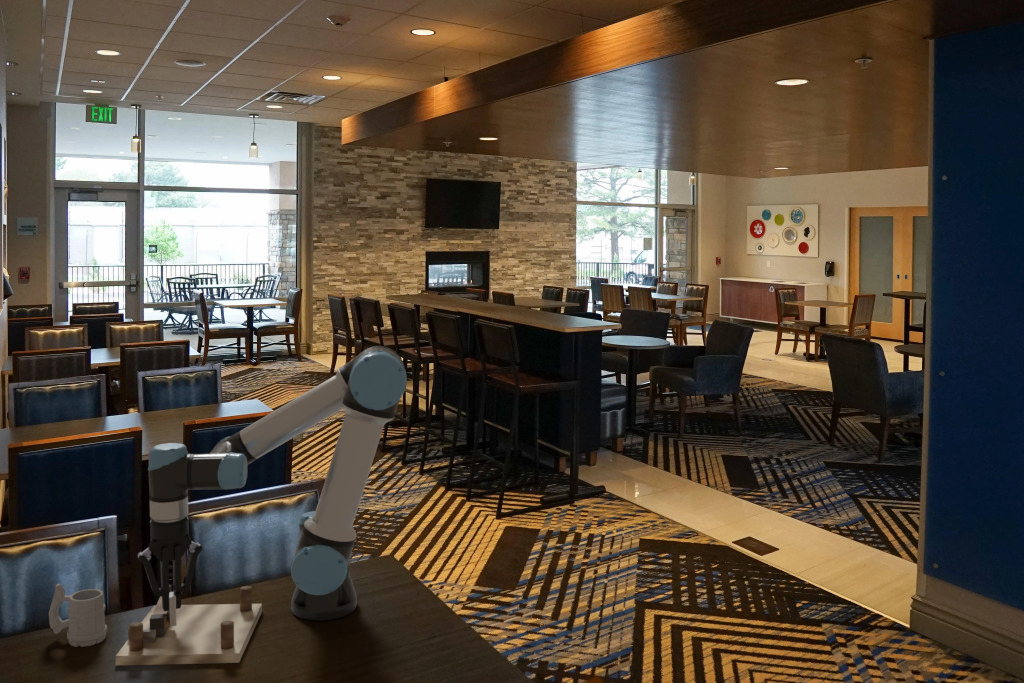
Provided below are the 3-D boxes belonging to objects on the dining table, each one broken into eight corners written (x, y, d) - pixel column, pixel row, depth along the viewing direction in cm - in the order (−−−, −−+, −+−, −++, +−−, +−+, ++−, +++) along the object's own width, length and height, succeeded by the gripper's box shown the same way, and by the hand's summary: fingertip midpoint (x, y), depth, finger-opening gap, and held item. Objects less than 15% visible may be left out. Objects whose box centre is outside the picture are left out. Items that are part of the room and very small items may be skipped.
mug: (96, 648, 171) (95, 592, 170) (39, 646, 170) (38, 591, 169) (114, 631, 178) (113, 578, 177) (59, 630, 178) (58, 577, 177)
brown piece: (161, 610, 184) (160, 585, 184) (174, 609, 185) (174, 584, 184) (149, 637, 171) (149, 611, 171) (164, 636, 172) (163, 610, 171)
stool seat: (262, 611, 190) (262, 582, 190) (239, 662, 167) (239, 629, 166) (154, 613, 188) (154, 584, 187) (115, 665, 164) (115, 632, 163)
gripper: (197, 507, 180) (199, 610, 182) (133, 516, 173) (137, 623, 175) (204, 517, 173) (207, 623, 176) (139, 527, 166) (142, 637, 169)
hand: (172, 623), depth 176 cm, fingers closed
